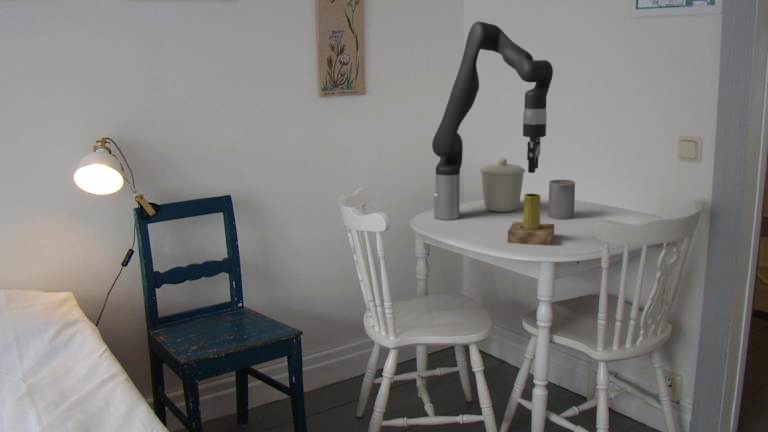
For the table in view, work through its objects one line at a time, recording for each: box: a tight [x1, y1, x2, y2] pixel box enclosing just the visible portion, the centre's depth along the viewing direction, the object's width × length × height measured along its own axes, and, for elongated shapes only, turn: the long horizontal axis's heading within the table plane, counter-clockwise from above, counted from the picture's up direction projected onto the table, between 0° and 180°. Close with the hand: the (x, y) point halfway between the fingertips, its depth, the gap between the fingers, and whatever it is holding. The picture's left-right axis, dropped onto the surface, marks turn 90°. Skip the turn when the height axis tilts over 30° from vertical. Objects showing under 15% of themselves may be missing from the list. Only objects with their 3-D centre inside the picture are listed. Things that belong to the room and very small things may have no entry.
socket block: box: [507, 221, 555, 246], centre depth 251 cm, size 14×14×4 cm
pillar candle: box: [547, 178, 576, 220], centre depth 282 cm, size 10×10×15 cm
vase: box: [522, 193, 541, 230], centre depth 250 cm, size 6×6×14 cm
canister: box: [479, 157, 526, 213], centre depth 295 cm, size 18×18×21 cm
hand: (533, 170), depth 247 cm, fingers open, 8 cm apart
